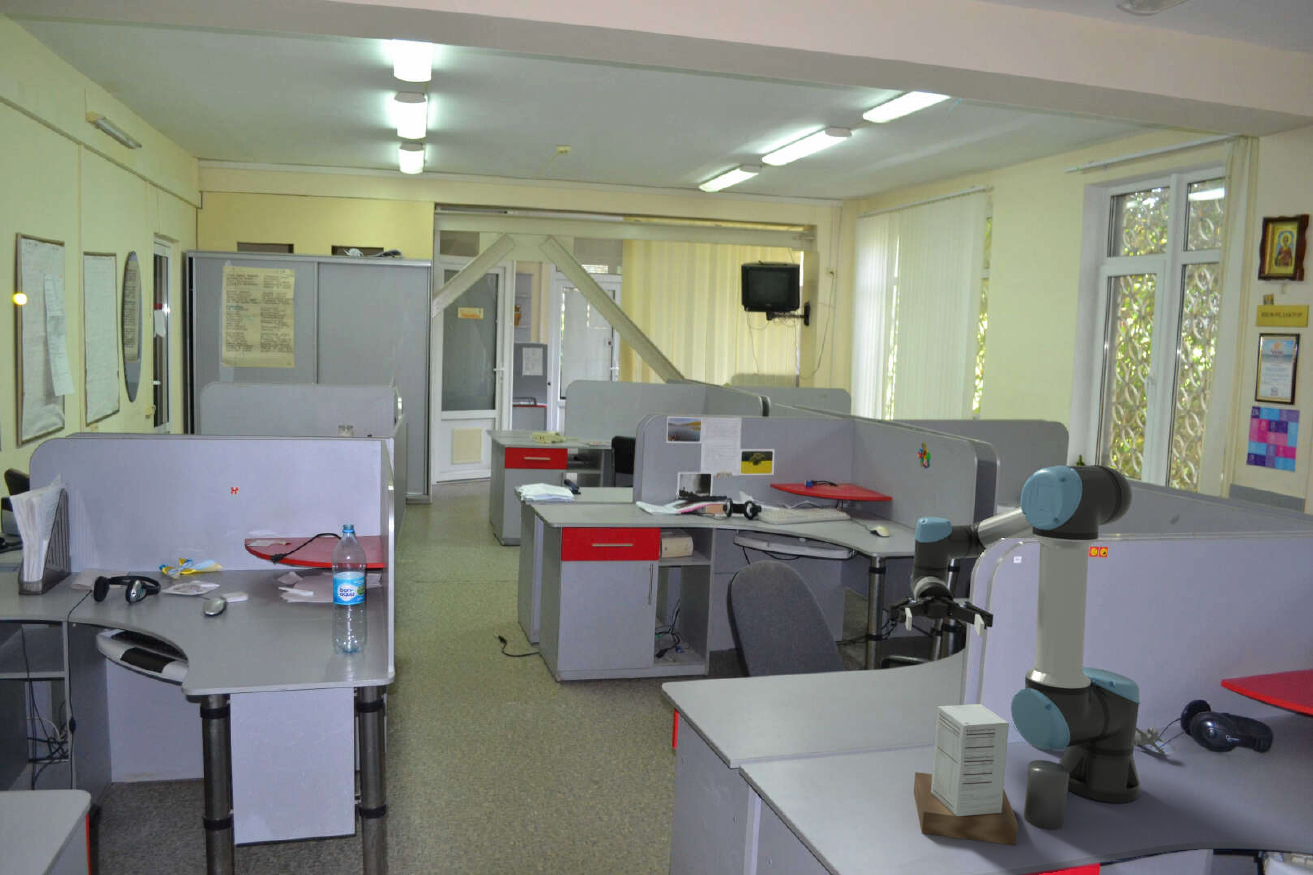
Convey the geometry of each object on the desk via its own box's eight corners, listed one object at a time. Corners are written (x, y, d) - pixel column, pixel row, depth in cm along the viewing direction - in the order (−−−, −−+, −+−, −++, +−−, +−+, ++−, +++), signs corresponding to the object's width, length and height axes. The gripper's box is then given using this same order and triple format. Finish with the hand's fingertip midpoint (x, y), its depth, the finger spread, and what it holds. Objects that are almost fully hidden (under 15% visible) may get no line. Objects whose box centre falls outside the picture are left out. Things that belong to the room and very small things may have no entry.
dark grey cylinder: (1059, 813, 183) (1064, 762, 182) (1068, 831, 177) (1073, 779, 175) (1020, 808, 185) (1025, 758, 183) (1027, 826, 178) (1033, 774, 177)
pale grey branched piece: (1154, 742, 220) (1179, 744, 211) (1139, 762, 218) (1163, 765, 210) (1120, 710, 221) (1143, 711, 212) (1105, 730, 219) (1127, 732, 210)
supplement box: (1003, 814, 174) (1011, 723, 172) (956, 817, 171) (964, 725, 169) (973, 788, 183) (981, 702, 181) (929, 792, 181) (936, 704, 179)
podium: (999, 802, 187) (1001, 782, 186) (1015, 845, 171) (1017, 823, 170) (913, 791, 189) (915, 771, 189) (921, 832, 174) (923, 811, 173)
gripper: (992, 620, 209) (1010, 652, 188) (873, 609, 213) (878, 639, 192) (995, 586, 208) (1014, 614, 187) (875, 576, 212) (881, 602, 191)
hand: (945, 626), depth 190 cm, fingers open, 13 cm apart
